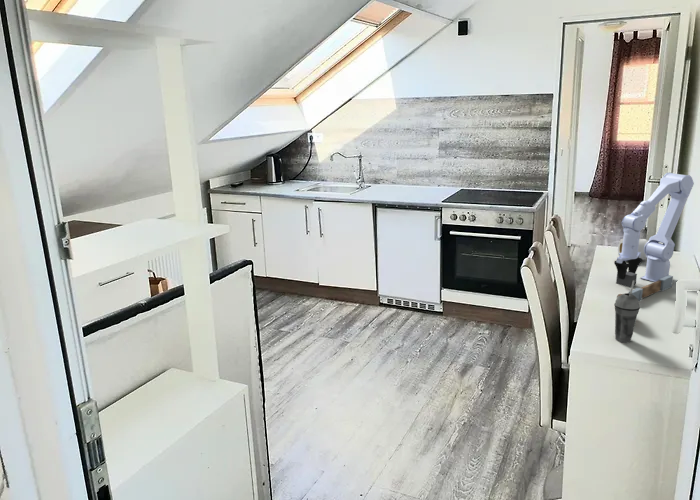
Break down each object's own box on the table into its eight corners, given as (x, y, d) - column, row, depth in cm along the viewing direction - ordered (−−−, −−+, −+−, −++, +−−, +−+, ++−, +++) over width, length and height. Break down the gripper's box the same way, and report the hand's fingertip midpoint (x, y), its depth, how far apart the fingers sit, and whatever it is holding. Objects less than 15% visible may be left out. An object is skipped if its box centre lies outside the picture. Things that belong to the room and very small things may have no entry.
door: (658, 289, 218) (659, 280, 217) (660, 290, 217) (662, 280, 216) (638, 298, 210) (639, 288, 209) (640, 298, 209) (642, 288, 208)
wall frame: (666, 285, 223) (668, 275, 222) (672, 286, 222) (673, 276, 220) (626, 302, 207) (628, 291, 205) (631, 304, 205) (633, 293, 204)
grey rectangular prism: (621, 281, 229) (622, 270, 228) (635, 285, 225) (637, 273, 223) (615, 283, 227) (617, 272, 226) (630, 287, 222) (631, 275, 221)
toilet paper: (624, 263, 253) (626, 241, 250) (617, 256, 263) (619, 236, 260) (647, 263, 252) (650, 242, 249) (639, 257, 261) (642, 236, 258)
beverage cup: (605, 335, 180) (612, 277, 175) (627, 334, 181) (634, 276, 175) (618, 345, 173) (625, 285, 168) (640, 343, 174) (648, 283, 168)
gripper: (630, 239, 228) (626, 270, 232) (610, 245, 220) (607, 277, 224) (647, 243, 223) (643, 275, 226) (628, 249, 215) (624, 282, 218)
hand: (626, 276), depth 225 cm, fingers open, 7 cm apart
